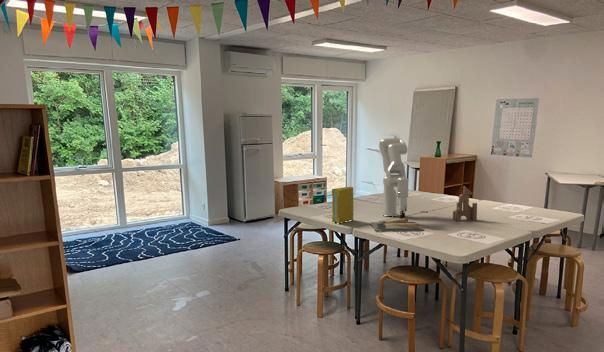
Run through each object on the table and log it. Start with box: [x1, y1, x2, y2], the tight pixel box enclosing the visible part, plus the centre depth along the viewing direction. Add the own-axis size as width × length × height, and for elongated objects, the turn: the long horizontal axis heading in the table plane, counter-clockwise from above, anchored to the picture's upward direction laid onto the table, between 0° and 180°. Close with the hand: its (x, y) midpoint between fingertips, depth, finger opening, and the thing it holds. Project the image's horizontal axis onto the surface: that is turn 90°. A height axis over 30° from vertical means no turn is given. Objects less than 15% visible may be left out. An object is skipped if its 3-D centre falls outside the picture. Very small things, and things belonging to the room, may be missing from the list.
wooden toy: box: [452, 185, 478, 222], centre depth 295 cm, size 16×7×25 cm, turn 90°
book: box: [331, 186, 354, 224], centre depth 298 cm, size 17×7×25 cm, turn 126°
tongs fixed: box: [377, 222, 420, 230], centre depth 273 cm, size 5×27×4 cm, turn 90°
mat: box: [370, 221, 425, 232], centre depth 280 cm, size 22×32×1 cm
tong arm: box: [377, 217, 409, 225], centre depth 280 cm, size 6×27×4 cm, turn 118°
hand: (402, 220), depth 291 cm, fingers closed
